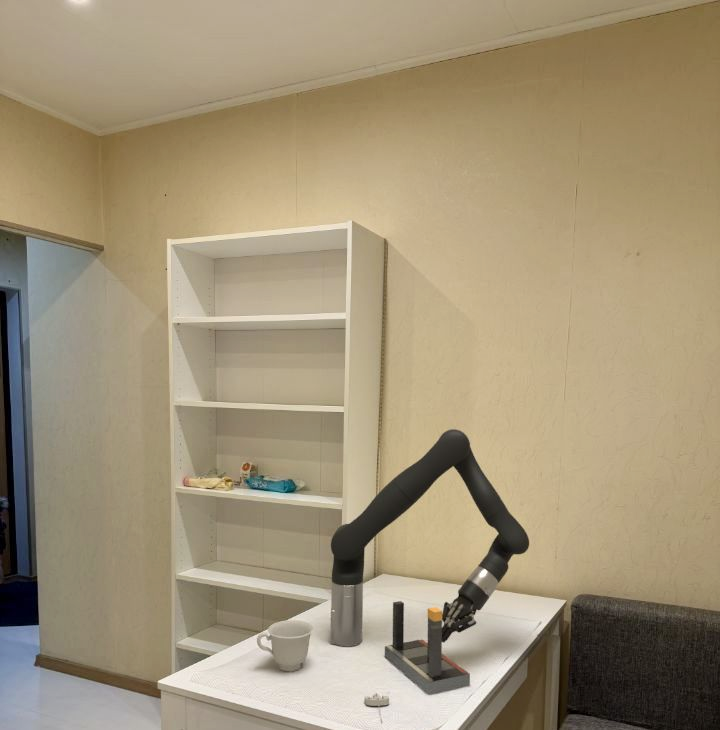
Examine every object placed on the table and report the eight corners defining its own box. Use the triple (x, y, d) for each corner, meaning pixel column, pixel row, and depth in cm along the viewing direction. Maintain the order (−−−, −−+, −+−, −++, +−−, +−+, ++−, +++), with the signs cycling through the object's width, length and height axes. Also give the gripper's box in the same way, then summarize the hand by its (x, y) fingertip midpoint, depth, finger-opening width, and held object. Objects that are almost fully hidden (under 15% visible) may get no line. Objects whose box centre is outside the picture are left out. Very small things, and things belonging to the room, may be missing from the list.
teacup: (252, 661, 169) (252, 624, 169) (305, 654, 174) (306, 617, 174) (261, 681, 157) (262, 641, 158) (318, 673, 163) (318, 634, 163)
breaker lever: (433, 659, 164) (434, 612, 165) (427, 654, 167) (427, 608, 168) (441, 657, 165) (442, 611, 166) (435, 652, 168) (435, 607, 169)
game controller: (383, 697, 151) (383, 686, 151) (404, 721, 141) (405, 709, 141) (361, 701, 149) (361, 690, 149) (381, 726, 139) (382, 714, 139)
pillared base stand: (428, 695, 152) (429, 632, 152) (384, 657, 173) (385, 601, 173) (469, 685, 157) (470, 624, 158) (422, 650, 178) (422, 596, 178)
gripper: (456, 572, 178) (418, 622, 172) (485, 586, 166) (445, 640, 160) (472, 589, 180) (434, 639, 174) (501, 604, 168) (462, 658, 162)
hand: (440, 639), depth 167 cm, fingers closed
